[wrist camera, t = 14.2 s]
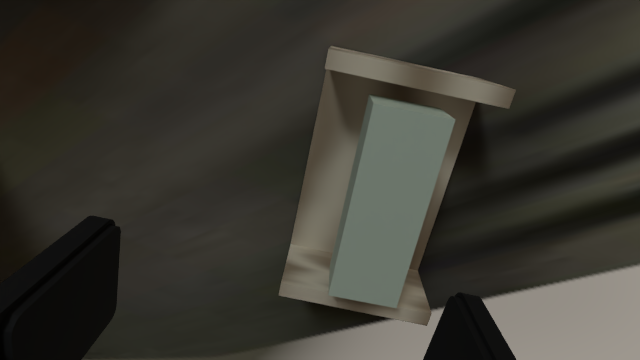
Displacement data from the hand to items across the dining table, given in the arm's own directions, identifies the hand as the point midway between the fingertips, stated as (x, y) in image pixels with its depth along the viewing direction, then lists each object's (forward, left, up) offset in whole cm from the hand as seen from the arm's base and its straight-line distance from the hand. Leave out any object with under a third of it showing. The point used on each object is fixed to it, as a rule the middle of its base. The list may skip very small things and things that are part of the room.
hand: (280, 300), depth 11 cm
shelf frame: (+6, -3, -24) cm, 25 cm away
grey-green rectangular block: (+5, -3, -19) cm, 20 cm away
